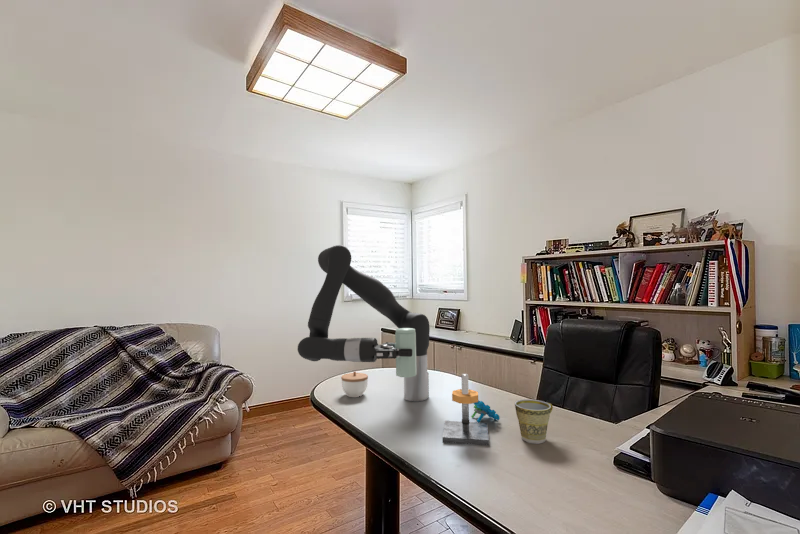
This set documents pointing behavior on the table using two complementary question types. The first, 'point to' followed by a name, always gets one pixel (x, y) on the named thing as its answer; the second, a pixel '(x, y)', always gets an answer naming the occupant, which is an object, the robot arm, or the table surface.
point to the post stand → (465, 426)
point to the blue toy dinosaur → (484, 411)
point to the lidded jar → (354, 384)
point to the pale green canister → (406, 340)
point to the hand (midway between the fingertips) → (413, 350)
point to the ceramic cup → (533, 419)
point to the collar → (465, 396)
